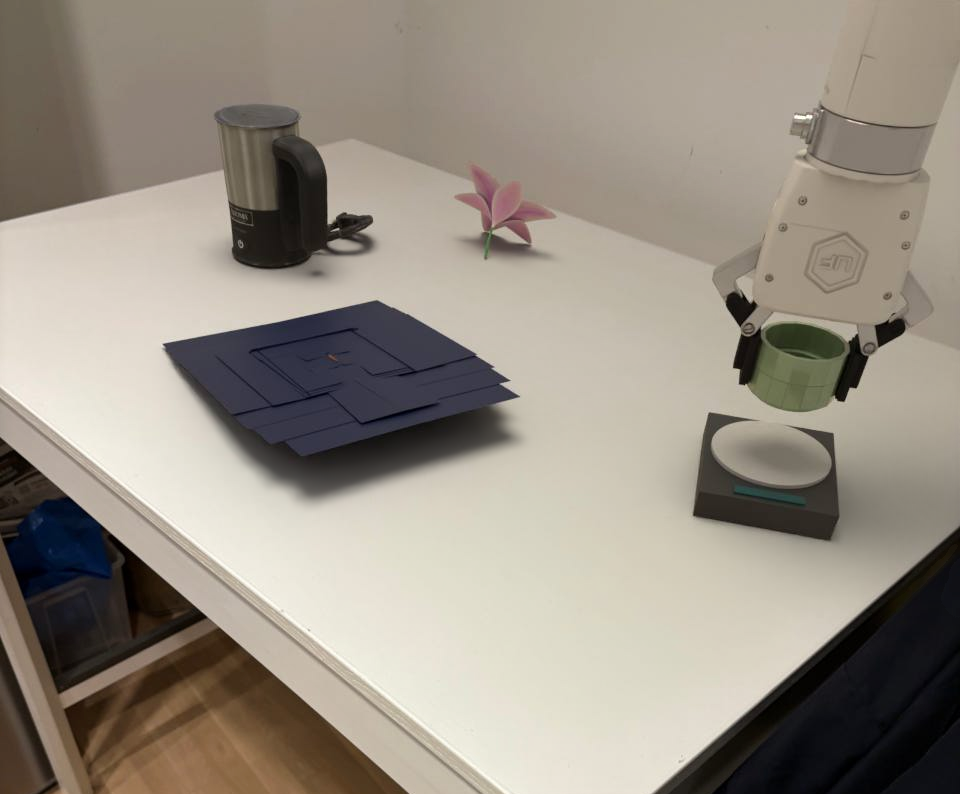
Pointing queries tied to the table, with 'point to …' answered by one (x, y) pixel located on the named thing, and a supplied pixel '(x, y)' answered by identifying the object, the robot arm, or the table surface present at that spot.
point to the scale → (768, 476)
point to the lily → (502, 204)
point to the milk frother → (276, 187)
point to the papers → (339, 375)
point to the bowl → (798, 366)
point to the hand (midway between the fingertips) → (791, 383)
